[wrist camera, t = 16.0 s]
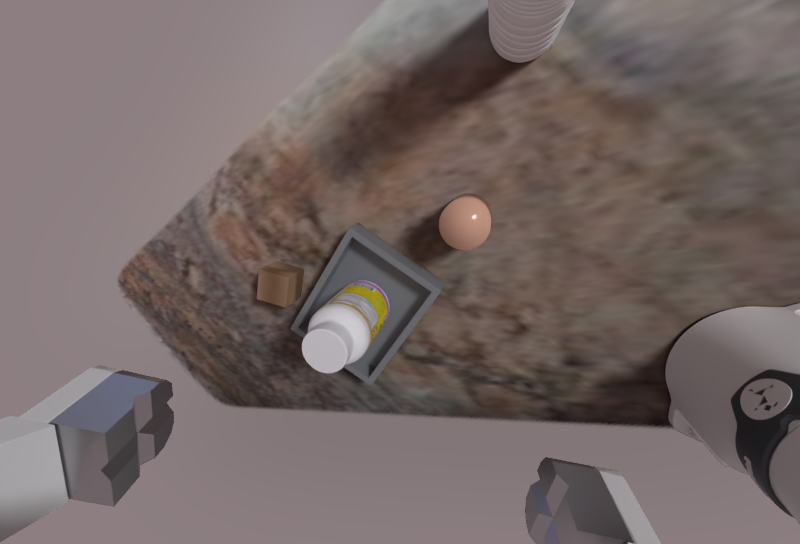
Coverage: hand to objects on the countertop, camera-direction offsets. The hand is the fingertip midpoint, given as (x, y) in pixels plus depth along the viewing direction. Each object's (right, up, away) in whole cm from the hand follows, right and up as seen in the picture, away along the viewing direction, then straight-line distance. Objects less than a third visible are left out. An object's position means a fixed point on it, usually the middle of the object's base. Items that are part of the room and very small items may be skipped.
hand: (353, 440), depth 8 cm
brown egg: (+9, +10, +34) cm, 37 cm away
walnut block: (-14, +3, +42) cm, 44 cm away
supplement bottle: (-3, 0, +40) cm, 40 cm away
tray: (-3, 0, +40) cm, 40 cm away
